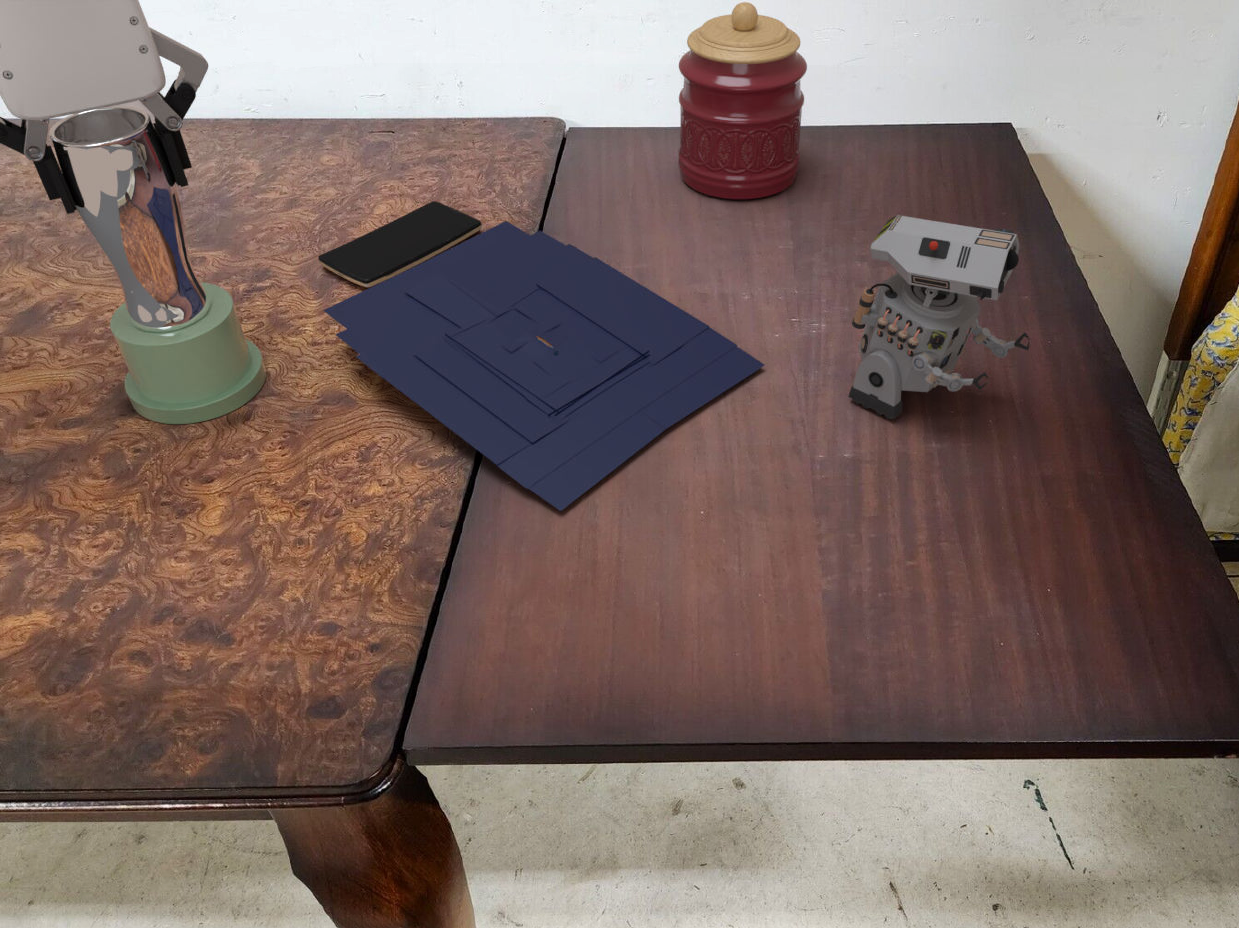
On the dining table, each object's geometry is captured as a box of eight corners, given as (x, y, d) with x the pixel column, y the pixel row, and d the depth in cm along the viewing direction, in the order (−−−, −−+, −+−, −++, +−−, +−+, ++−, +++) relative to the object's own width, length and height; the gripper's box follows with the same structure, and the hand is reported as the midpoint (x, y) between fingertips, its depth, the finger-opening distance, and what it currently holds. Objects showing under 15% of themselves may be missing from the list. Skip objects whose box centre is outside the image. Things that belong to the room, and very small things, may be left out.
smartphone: (314, 256, 101) (434, 199, 109) (317, 267, 102) (436, 209, 110) (363, 282, 97) (484, 220, 106) (366, 293, 98) (485, 231, 106)
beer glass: (121, 299, 85) (45, 114, 75) (212, 280, 87) (149, 98, 77) (126, 344, 80) (45, 153, 70) (221, 323, 82) (156, 135, 72)
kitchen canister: (733, 138, 122) (739, -27, 110) (822, 173, 115) (839, 1, 103) (653, 176, 115) (650, 4, 103) (744, 214, 109) (752, 36, 97)
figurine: (955, 454, 80) (996, 281, 70) (832, 394, 86) (852, 225, 76) (1015, 400, 85) (1061, 230, 75) (894, 346, 91) (922, 181, 81)
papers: (521, 238, 103) (520, 204, 100) (762, 388, 91) (769, 355, 88) (309, 345, 90) (301, 310, 87) (557, 538, 77) (557, 504, 75)
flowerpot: (119, 432, 84) (85, 358, 79) (142, 355, 91) (112, 284, 87) (261, 415, 85) (236, 341, 80) (271, 340, 93) (249, 269, 88)
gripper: (156, -115, 70) (233, 145, 82) (-145, -75, 64) (-12, 201, 76) (182, -89, 65) (260, 183, 77) (-140, -43, 59) (0, 246, 71)
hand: (124, 190), depth 76 cm, fingers closed on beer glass, 7 cm apart
